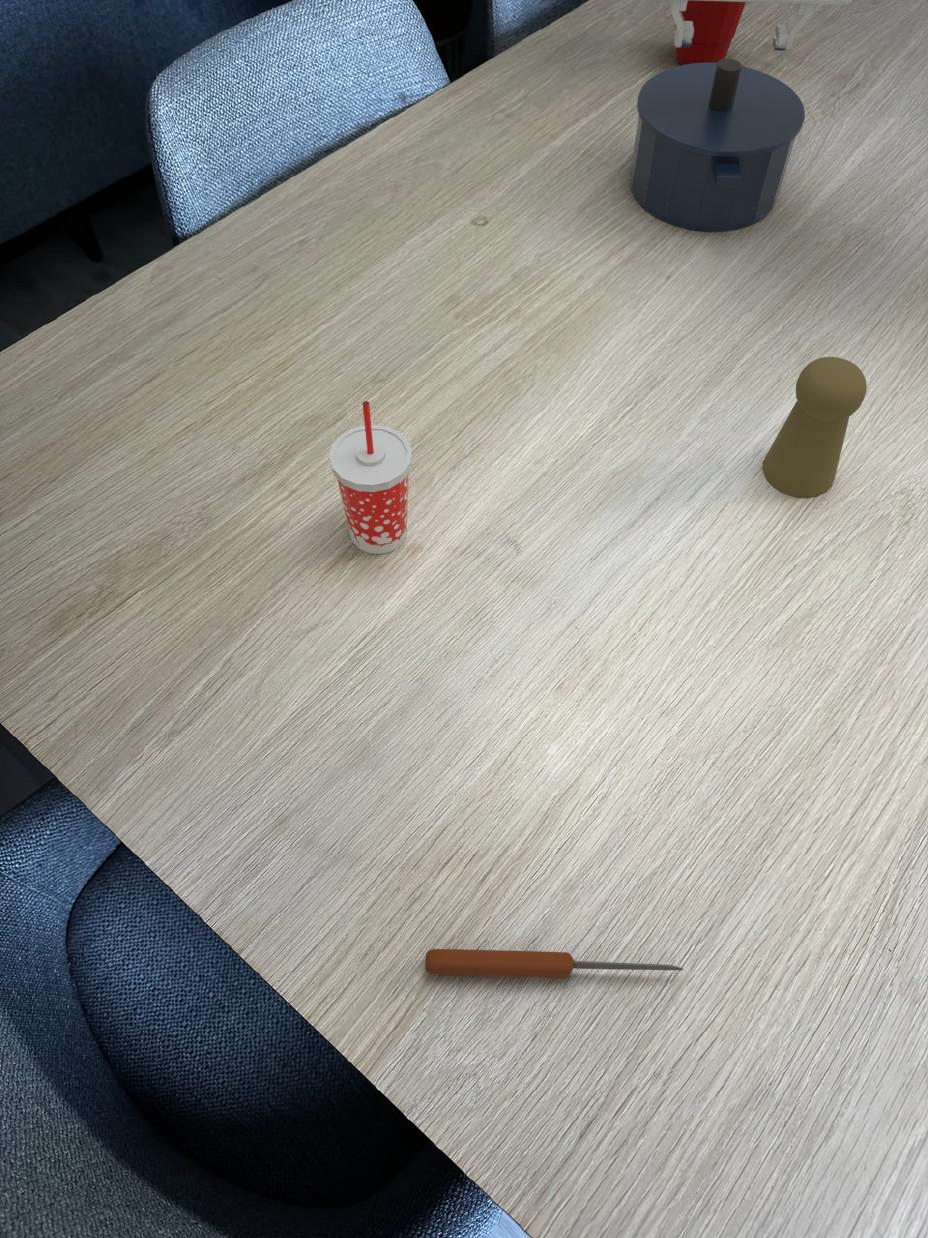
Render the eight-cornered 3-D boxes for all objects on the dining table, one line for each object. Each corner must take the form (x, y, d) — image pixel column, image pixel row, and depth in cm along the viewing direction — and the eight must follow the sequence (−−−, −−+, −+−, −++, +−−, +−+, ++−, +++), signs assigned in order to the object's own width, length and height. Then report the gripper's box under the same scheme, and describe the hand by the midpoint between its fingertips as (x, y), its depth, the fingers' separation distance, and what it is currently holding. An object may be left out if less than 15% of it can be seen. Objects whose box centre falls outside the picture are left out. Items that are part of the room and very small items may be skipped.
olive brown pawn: (781, 435, 90) (817, 334, 81) (846, 465, 88) (890, 365, 79) (749, 476, 87) (783, 377, 78) (816, 508, 85) (858, 410, 76)
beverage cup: (401, 569, 81) (392, 443, 70) (329, 551, 82) (308, 423, 71) (426, 512, 85) (421, 383, 73) (356, 496, 86) (340, 365, 74)
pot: (763, 135, 117) (782, 58, 110) (790, 249, 105) (814, 172, 98) (624, 131, 117) (635, 55, 110) (636, 245, 105) (649, 168, 98)
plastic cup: (653, 34, 130) (669, -73, 120) (740, 39, 129) (763, -68, 120) (653, 79, 124) (670, -30, 114) (744, 84, 123) (769, -25, 113)
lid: (788, 75, 109) (802, 23, 105) (814, 165, 100) (830, 112, 96) (631, 71, 110) (638, 20, 105) (641, 160, 100) (649, 108, 96)
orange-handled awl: (425, 978, 64) (424, 968, 62) (426, 955, 64) (425, 945, 63) (682, 985, 63) (688, 976, 62) (680, 962, 64) (686, 953, 62)
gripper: (884, -133, 89) (834, 33, 101) (647, -141, 90) (624, 26, 101) (899, -102, 86) (846, 66, 97) (652, -110, 86) (628, 59, 97)
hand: (731, 46), depth 99 cm, fingers open, 8 cm apart
